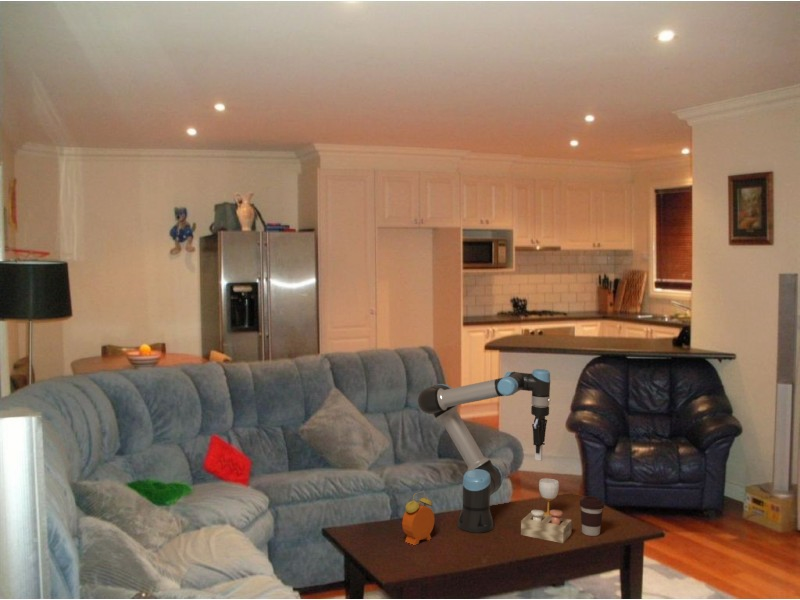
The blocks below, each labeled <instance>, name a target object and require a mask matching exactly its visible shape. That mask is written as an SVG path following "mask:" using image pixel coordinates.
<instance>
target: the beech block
mask: <svg viewBox="0 0 800 600" xmlns="http://www.w3.org/2000/svg"><path fill="white" fill-rule="evenodd" d="M551 519H552V516H548V515H543V516H542V521H536V520H533V515H531V512H529V513H528V514H527V515H526V516H525V517H523V518H522V519H521V520H520V536H526V537H530V538H534V539H535V538H536V539H539V540H540V539H541V540H545V541H551V542H556V543H559V544H564V543H565V542H566V541H567V540H568V538H569V537H570V536H571V535H572V523H573V522H572V519H570V518H564V517H560V525H557V524H552V523H551Z"/></svg>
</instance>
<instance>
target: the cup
mask: <svg viewBox="0 0 800 600" xmlns="http://www.w3.org/2000/svg"><path fill="white" fill-rule="evenodd" d="M559 489H560V483H559V481H558V480H557V479H554V478H545V477H544V478H541V479H539V482H538V491H539V494H540V496H541V498H543V500H545V501H547V504H546V505H547V508H546V509H547V510H546V512H545V511H544V515H548V516H551V515H550V501H554V499H555V498H557V496H558V494H559V493H558V492H559Z"/></svg>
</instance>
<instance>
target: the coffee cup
mask: <svg viewBox="0 0 800 600" xmlns="http://www.w3.org/2000/svg"><path fill="white" fill-rule="evenodd" d="M579 506H580V522H581V523H580V524H581V533H582V534H584V535H586V536H587V537H589V536H590V537H596V536H599V535H600V533H601V525H602V520H603V508H604V507H605V503H604V501H602V500H601V498H599V497H597V496H592V495H587V496H583V498H582V499H580V500H579Z"/></svg>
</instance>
